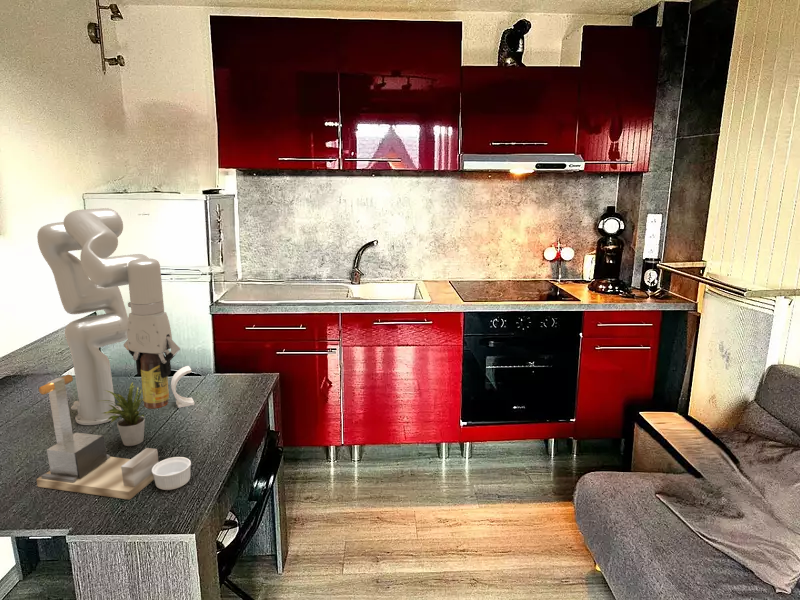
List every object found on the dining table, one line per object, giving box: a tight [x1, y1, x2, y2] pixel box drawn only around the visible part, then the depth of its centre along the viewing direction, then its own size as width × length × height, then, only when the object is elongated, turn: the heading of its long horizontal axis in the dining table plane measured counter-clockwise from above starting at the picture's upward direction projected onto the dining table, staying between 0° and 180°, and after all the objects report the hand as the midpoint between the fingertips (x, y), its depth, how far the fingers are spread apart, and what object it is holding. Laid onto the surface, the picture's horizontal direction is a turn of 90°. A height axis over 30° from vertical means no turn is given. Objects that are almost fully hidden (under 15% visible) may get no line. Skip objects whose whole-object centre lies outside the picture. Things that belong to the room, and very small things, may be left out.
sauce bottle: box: [140, 353, 170, 410], centre depth 142 cm, size 6×6×20 cm
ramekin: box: [152, 456, 192, 491], centre depth 134 cm, size 9×9×4 cm
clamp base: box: [36, 447, 160, 500], centre depth 135 cm, size 26×13×7 cm, turn 78°
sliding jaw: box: [38, 374, 108, 479], centre depth 134 cm, size 8×9×23 cm
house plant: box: [100, 381, 146, 447], centre depth 153 cm, size 14×14×16 cm
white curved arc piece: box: [170, 365, 196, 409], centre depth 177 cm, size 5×6×12 cm
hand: (154, 374), depth 142 cm, fingers closed on sauce bottle, 6 cm apart
